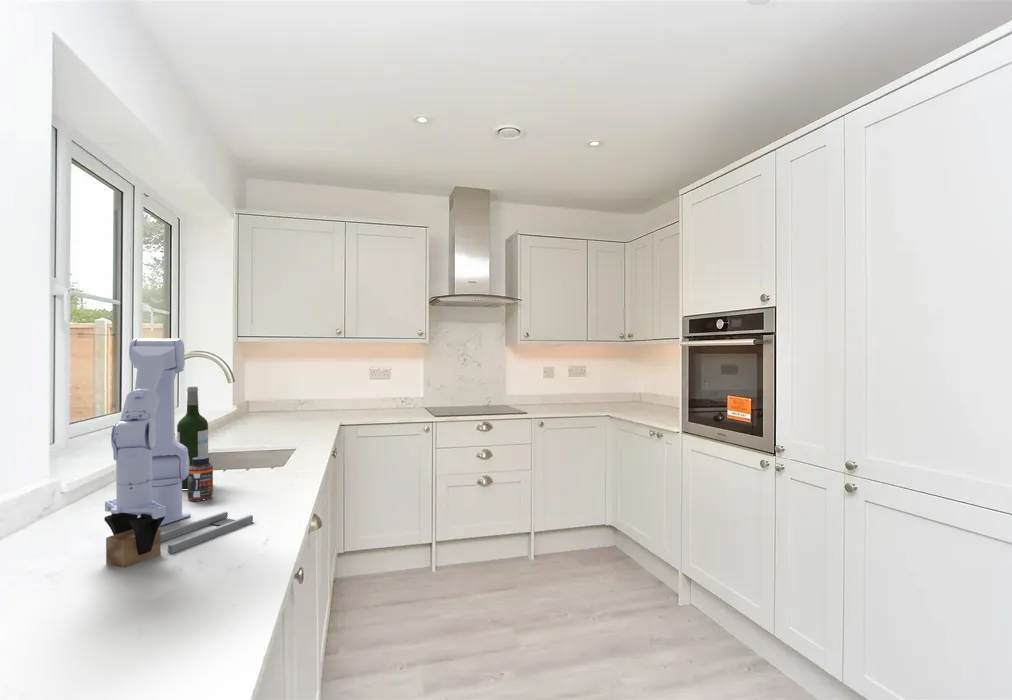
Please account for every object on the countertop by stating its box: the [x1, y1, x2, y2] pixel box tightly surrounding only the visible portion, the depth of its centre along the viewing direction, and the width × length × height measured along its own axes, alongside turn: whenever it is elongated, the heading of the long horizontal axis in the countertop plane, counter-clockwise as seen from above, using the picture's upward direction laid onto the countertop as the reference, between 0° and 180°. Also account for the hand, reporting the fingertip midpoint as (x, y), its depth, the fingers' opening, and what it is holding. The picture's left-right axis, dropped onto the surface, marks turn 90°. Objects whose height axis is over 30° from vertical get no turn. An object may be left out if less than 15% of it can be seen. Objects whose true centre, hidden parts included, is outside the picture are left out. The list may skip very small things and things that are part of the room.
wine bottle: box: [176, 386, 209, 489], centre depth 153 cm, size 8×8×30 cm
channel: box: [160, 511, 254, 554], centre depth 114 cm, size 9×20×2 cm, turn 160°
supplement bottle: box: [187, 456, 214, 502], centre depth 141 cm, size 6×6×11 cm
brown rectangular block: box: [105, 527, 162, 568], centre depth 100 cm, size 5×7×5 cm
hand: (134, 550), depth 100 cm, fingers closed on brown rectangular block, 5 cm apart
